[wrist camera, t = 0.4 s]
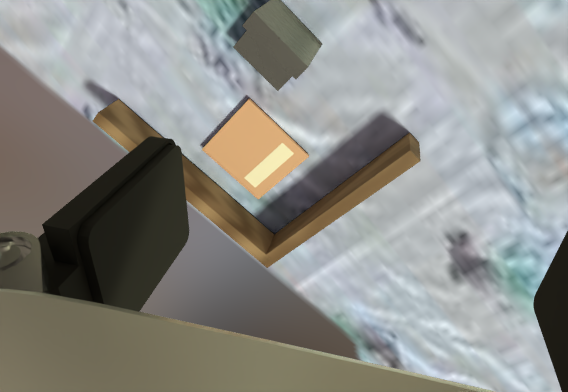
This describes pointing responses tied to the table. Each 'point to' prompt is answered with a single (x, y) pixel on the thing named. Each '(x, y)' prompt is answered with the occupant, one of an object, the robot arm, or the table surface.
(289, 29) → the bracket
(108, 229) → the robot arm
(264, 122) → the pad
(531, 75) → the table surface
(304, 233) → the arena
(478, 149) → the table surface
